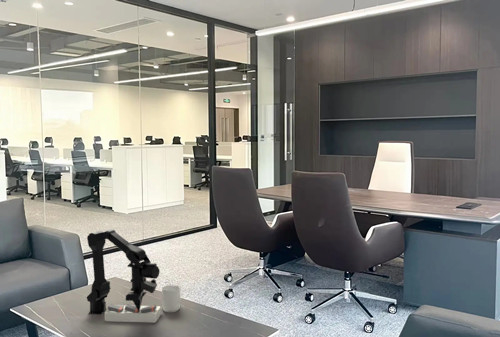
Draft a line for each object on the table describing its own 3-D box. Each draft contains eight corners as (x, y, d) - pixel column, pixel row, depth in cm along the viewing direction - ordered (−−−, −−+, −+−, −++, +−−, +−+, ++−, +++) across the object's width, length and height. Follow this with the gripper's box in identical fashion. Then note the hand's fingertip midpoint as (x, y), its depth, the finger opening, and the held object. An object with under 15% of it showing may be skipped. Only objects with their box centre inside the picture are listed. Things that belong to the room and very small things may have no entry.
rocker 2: (124, 309, 201) (125, 306, 201) (126, 307, 204) (127, 303, 204) (137, 314, 201) (138, 310, 201) (139, 311, 204) (140, 308, 204)
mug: (172, 314, 209) (173, 291, 209) (158, 311, 213) (158, 289, 213) (186, 306, 220) (186, 284, 220) (172, 303, 224) (172, 282, 224)
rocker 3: (141, 313, 201) (140, 310, 200) (143, 311, 204) (142, 307, 204) (154, 310, 200) (153, 307, 200) (156, 308, 203) (155, 305, 203)
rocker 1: (107, 309, 201) (108, 306, 201) (110, 307, 205) (110, 303, 204) (120, 313, 201) (121, 309, 201) (122, 310, 204) (123, 307, 204)
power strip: (104, 321, 200) (104, 312, 200) (112, 312, 210) (112, 304, 210) (155, 322, 199) (155, 313, 199) (160, 314, 209) (160, 305, 209)
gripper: (149, 282, 192) (150, 316, 192) (160, 270, 211) (160, 302, 211) (124, 282, 192) (125, 316, 193) (137, 270, 211) (138, 302, 212)
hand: (138, 309), depth 202 cm, fingers closed, pressing on rocker 2
